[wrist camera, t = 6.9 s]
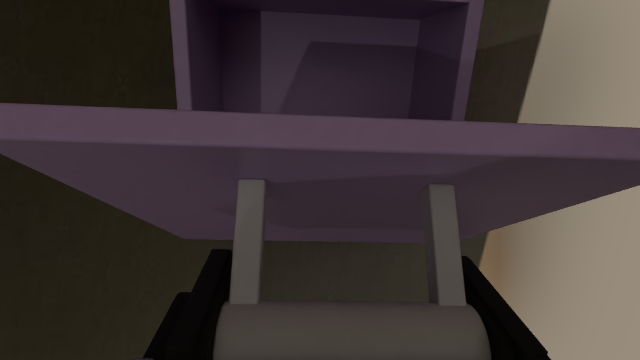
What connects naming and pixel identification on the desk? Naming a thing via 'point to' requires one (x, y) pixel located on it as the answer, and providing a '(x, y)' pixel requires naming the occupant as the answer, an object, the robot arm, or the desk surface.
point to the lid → (326, 204)
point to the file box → (326, 56)
